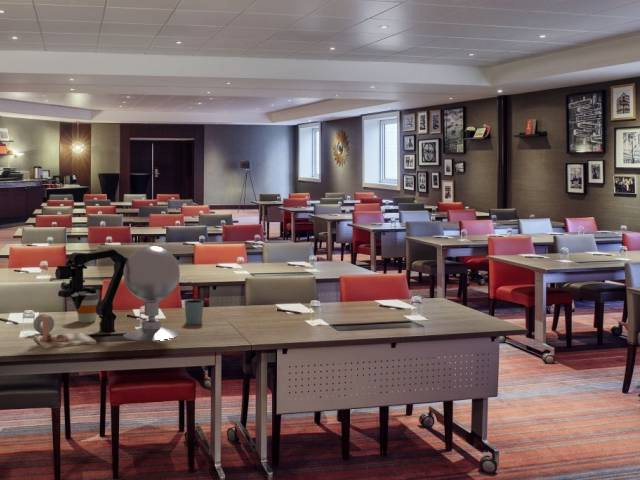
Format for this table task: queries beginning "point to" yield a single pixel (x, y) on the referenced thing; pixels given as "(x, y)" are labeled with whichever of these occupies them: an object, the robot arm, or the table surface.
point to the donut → (39, 319)
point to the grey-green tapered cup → (194, 311)
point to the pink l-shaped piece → (46, 331)
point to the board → (70, 341)
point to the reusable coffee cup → (88, 308)
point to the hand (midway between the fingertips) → (77, 309)
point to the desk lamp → (151, 288)
